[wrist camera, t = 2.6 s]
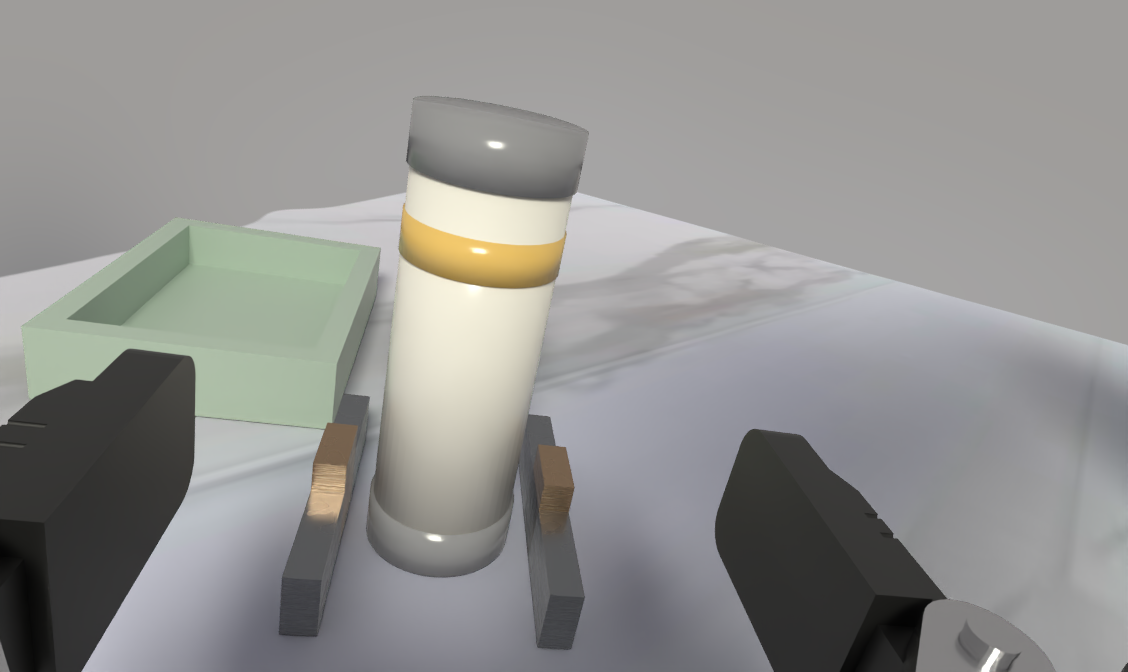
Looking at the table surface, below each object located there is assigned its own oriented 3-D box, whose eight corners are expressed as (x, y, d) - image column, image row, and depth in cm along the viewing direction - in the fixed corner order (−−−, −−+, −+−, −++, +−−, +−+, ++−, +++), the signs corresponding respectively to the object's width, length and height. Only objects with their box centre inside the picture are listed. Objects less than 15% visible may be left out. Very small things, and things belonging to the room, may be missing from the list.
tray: (375, 295, 43) (380, 248, 42) (331, 429, 29) (336, 363, 28) (176, 268, 41) (175, 217, 39) (29, 398, 27) (21, 326, 26)
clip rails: (541, 457, 30) (554, 395, 29) (571, 649, 21) (592, 569, 20) (339, 437, 29) (345, 371, 28) (278, 634, 20) (283, 547, 19)
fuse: (503, 492, 28) (576, 119, 22) (509, 582, 23) (601, 146, 18) (375, 480, 27) (418, 89, 21) (356, 571, 22) (405, 110, 17)
